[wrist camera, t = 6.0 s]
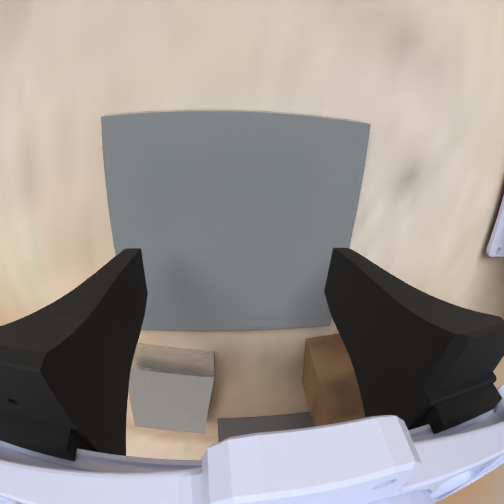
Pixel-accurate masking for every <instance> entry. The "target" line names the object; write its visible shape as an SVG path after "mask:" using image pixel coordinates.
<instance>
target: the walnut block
mask: <svg viewBox="0 0 504 504" xmlns="http://www.w3.org/2000/svg"><path fill="white" fill-rule="evenodd" d="M302 383H303V387H304V390H305V394H306V398H307V402H308V405H309V409H310V413H311V417H312V421H313V424H314V427H316V426H323V425H329V424H335V423H341V422H347V421H352V420H357V419H362V418H365V413H364V408H363V403H362V399H361V395H360V390H359V386H358V382H357V379H356V375H355V372H354V368H353V365H352V362H351V359H350V357H349V354H348V352H347V350H346V347H345V345H344V343H343V341H342V338H341V336H340V334H334V335H328V336H322V337H315V338H309V339H306V344H305V356H304V368H303V379H302Z"/></svg>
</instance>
